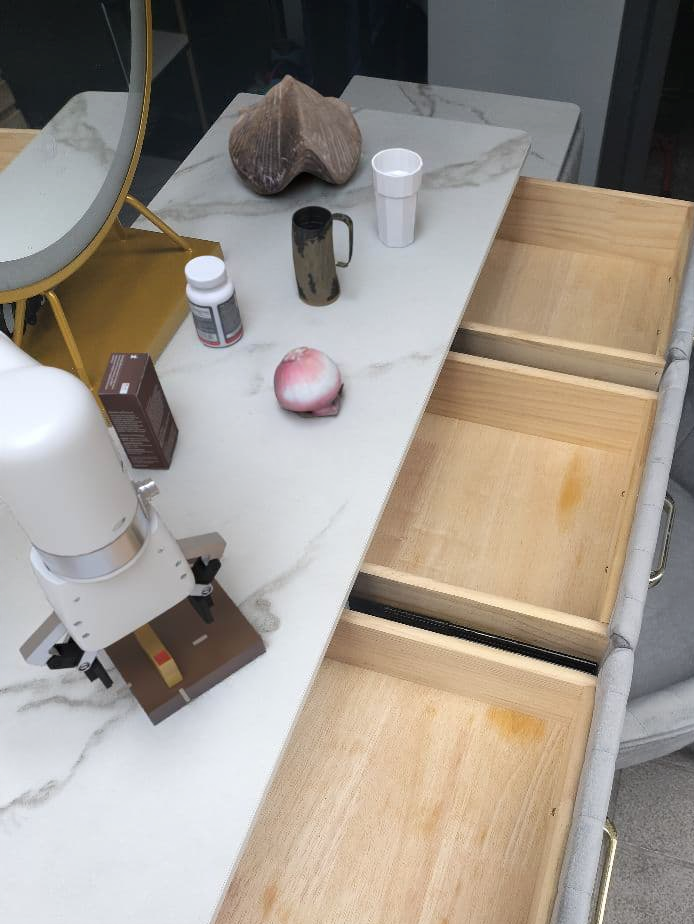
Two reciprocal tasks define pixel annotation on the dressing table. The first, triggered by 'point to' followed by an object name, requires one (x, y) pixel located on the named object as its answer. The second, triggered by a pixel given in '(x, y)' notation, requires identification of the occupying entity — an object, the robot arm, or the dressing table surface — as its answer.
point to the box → (138, 410)
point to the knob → (158, 655)
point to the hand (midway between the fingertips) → (153, 642)
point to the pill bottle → (213, 302)
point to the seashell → (294, 138)
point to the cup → (396, 194)
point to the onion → (308, 382)
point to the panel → (187, 653)
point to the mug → (317, 254)
